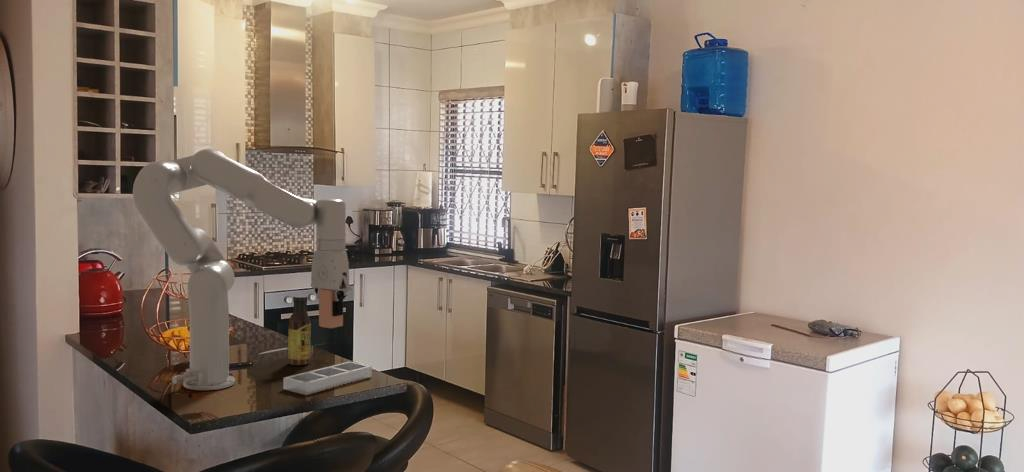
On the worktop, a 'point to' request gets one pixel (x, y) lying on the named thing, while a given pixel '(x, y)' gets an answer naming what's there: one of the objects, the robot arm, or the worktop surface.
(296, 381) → the hole rail
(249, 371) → the worktop surface
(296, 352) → the sauce bottle
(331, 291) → the square peg
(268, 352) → the chef's knife
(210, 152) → the robot arm
